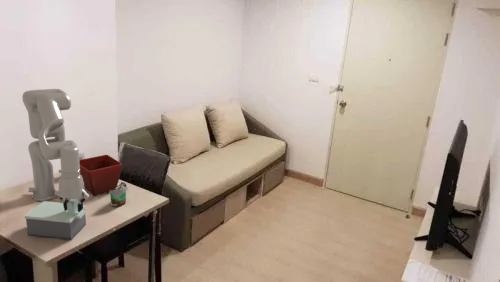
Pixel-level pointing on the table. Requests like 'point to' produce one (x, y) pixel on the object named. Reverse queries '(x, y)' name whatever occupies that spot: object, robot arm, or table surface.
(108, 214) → the table surface
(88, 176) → the plant pot
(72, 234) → the parts tub
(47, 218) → the lid
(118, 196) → the food container
